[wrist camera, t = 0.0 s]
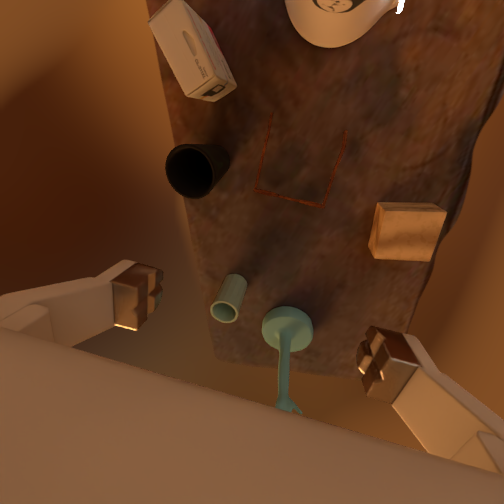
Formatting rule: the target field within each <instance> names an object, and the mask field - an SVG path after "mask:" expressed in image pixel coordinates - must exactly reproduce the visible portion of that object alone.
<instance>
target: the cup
mask: <svg viewBox="0 0 504 504" xmlns="http://www.w3.org/2000/svg"><path fill="white" fill-rule="evenodd" d="M229 165H230V159H229V155H228V153H227V152H226V151H225V149H223V148H222V147H220V146H218V145H202V144H183V145H179V146H177V147H175V148H174V149H173V150H171V152H170V153H169V155H168V156H167V160H166V167H165V169H166V175H167V178H168V181H169V183H170V184H171V186H172V187H173V188H174V189H175V191H176V192H178V193H179V194H180V195H182V196H184V197H186V198H191V199H199V198H202V197H204V196H206V195H207V194H209V193H210V191H211V190H212V189H213V188H214V186H215V185H216V184H217V183H218V182H219V180H220V179H221V178H222V177H223V175H224V174H225V173H226V172H227V171H228V169H229Z"/></svg>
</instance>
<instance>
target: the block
mask: <svg viewBox="0 0 504 504" xmlns="http://www.w3.org/2000/svg"><path fill="white" fill-rule="evenodd" d="M446 214H447V212H446V211H445V210H443V209H441V208H440V207H438V206H437V205H435V204H433V203H408V202H377V206H376V210H375V215H374V220H373V225H372V229H371V234H370V239H369V244H368V247H369V249H370V251H371V253H372V255H373V257H374V258H375V259H393V260H413V261H430V259H431V256H432V253H433V250H434V248H435V245H436V242H437V239H438V236H439V234H440V231H441V228H442V225H443V222H444V220H445V217H446Z"/></svg>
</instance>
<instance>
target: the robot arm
mask: <svg viewBox="0 0 504 504" xmlns="http://www.w3.org/2000/svg"><path fill="white" fill-rule="evenodd" d="M404 1H406V0H285V4H286V8H287V12H288V15H289V17H290V20H291V22H292V24H293V26H294V27H295V29H296V30H297V32H298V33H299V34H300V35H301V36H302V37H303V38H304V39H305V40H307V41H308V42H310V43H312V44H314V45H316V46H320V47H325V48H334V47H340V46H343V45H346V44H349V43H351V42H353V41H355V40H356V39H358V38H359V37H361V36H362V35H364V34H365V33H366V32H367V31H368V30H369V29H370V28H371V27H372V26H373V25H374V24H375V23H376V22H377V21H378V20H379V19H380V18H381V17H382V16H383V15H384V14H385V13H386V12H387V11H388V10H390V9H392V8H394V7H396V6H398V9H397V13H396V14H399V13H400V12H401V11H402V9H403V5H404ZM162 280H163V271H162V270H161V269H157V268H155V267H151V266H148V265H144V264H140V263H137V262H133V261H129V260H122V261H120V262H119V263H117V264H116V265H114V266H113V267H111V268H109V269H108V270H106V271H105V272H103V273H102V274H100V275H98V276H97V277H95V278H92V277H88V278H83V279H78V280H73V281H68V282H63V283H58V284H53V285H48V286H43V287H38V288H33V289H28V290H23V291H18V292H13V293H8V294H4V295H2V296H0V504H504V420H503V419H502V418H500V417H499V416H498V415H496V414H495V413H494V412H492V411H491V410H490V409H489V408H488V407H486V406H485V405H484V404H483V403H481V402H480V401H479V400H477V399H476V398H475V397H474V396H472V395H471V394H470V393H468V392H467V391H466V390H465V389H463V388H462V387H461V386H460V385H458V384H457V383H456V382H455V381H453V380H452V379H451V378H450V377H448V376H447V375H446V374H443V373H440V372H439V370H438V369H437V367H436V366H435V364H434V363H433V361H432V360H431V358H430V357H429V355H428V354H427V352H426V351H425V349H424V347H423V346H422V344H421V343H420V342H419V340H418V339H417V338H416V337H415V336H413V335H409V334H405V333H400V332H395V331H391V330H387V329H383V328H379V327H375V326H370V327H369V328H368V330H367V332H366V333H365V334H366V337H367V340H365V341H363V342H361V343H360V345H359V347H358V349H357V355H356V360H357V365H358V369H359V370H360V371H361V372H362V373H363V374H364V375H363V377H362V382H363V386H364V389H365V392H366V395H367V397H370V398H374V399H377V400H380V401H383V402H386V403H389V404H392V407H393V408H394V409H395V410H396V412H397V413H398V414H399V416H400V417H401V418H402V419H403V421H404V422H405V423H406V424H407V426H408V427H409V429H410V430H411V431H412V432H413V433H414V435H415V436H416V438H417V439H418V440H419V441H420V443H421V444H422V445H423V446H424V448H425V449H426V451H427V452H428V453H426V452H423V451H420V450H416V449H413V448H409V447H406V446H403V445H399V444H396V443H392V442H389V441H386V440H382V439H379V438H375V437H372V436H369V435H365V434H362V433H359V432H355V431H352V430H349V429H345V428H342V427H338V426H335V425H332V424H328V423H325V422H322V421H318V420H315V419H312V418H308V417H305V416H301V415H298V414H295V413H291V412H288V411H285V410H281V409H278V408H274V407H271V406H268V405H264V404H261V403H257V402H254V401H250V400H247V399H244V398H240V397H237V396H233V395H230V394H227V393H223V392H220V391H217V390H213V389H210V388H206V387H203V386H200V385H196V384H193V383H190V382H186V381H183V380H179V379H176V378H172V377H169V376H166V375H162V374H159V373H156V372H152V371H149V370H145V369H142V368H139V367H135V366H132V365H128V364H125V363H121V362H118V361H115V360H111V359H108V358H105V357H101V356H97V355H95V354H91V353H88V352H84V351H81V350H77V349H74V348H71V347H72V346H74V345H76V344H78V343H80V342H82V341H84V340H86V339H88V338H90V337H93V336H95V335H97V334H99V333H101V332H103V331H105V330H108V329H110V328H112V327H113V326H114V325H116V326H120V327H124V328H128V329H132V330H135V331H137V330H138V329H139V327H140V326H141V325H142V324H143V323H144V322H145V321H146V320H147V314H148V313H151V312H154V310H155V309H156V308H157V307H158V305H159V303H160V301H161V297H162V292H163V291H162V290H163V289H162V287H161V285H160V284H159V283H160V282H161V281H162Z"/></svg>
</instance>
